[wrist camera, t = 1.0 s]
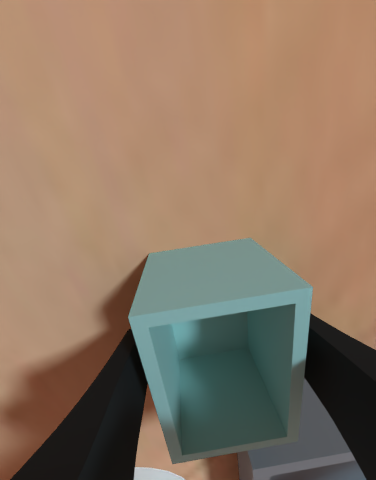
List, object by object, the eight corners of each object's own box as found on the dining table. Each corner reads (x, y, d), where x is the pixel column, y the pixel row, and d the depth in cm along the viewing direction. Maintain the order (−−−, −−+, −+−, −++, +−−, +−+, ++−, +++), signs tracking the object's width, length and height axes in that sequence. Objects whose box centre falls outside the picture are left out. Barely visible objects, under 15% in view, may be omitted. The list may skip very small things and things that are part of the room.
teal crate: (249, 236, 10) (312, 286, 6) (252, 344, 13) (297, 441, 8) (149, 252, 10) (128, 317, 5) (173, 358, 13) (172, 464, 8)
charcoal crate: (434, 355, 14) (528, 419, 11) (389, 466, 20) (441, 535, 16) (231, 390, 14) (252, 469, 10) (240, 494, 19) (257, 571, 15)
